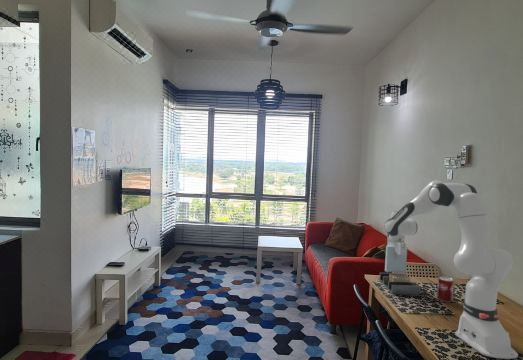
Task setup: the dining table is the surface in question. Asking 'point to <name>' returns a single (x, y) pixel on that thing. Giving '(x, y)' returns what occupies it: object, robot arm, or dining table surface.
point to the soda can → (445, 289)
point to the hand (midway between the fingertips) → (395, 258)
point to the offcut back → (396, 276)
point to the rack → (399, 285)
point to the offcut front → (400, 279)
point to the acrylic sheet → (394, 261)
